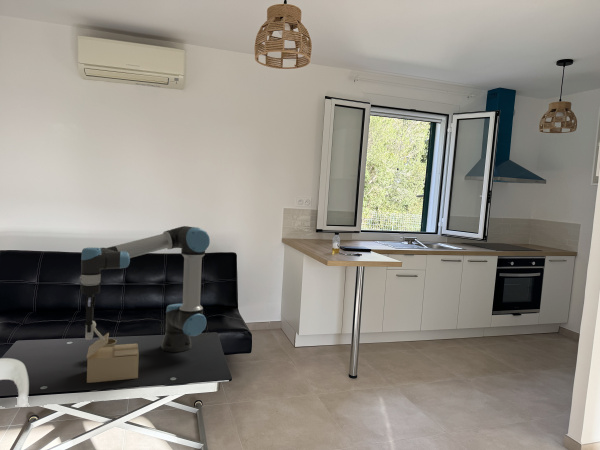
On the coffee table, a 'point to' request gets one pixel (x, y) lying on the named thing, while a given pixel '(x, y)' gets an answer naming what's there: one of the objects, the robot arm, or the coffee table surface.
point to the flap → (97, 342)
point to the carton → (113, 363)
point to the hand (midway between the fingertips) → (89, 337)
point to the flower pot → (110, 343)
